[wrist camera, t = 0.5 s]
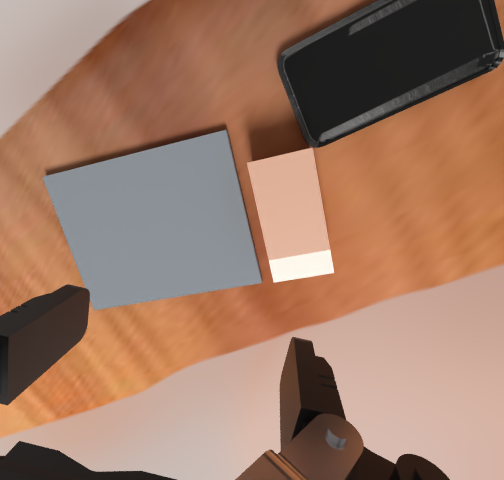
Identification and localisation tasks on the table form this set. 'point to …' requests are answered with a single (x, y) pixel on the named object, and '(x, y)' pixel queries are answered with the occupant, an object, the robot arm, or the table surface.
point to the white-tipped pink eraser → (291, 215)
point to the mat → (157, 223)
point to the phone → (387, 62)
